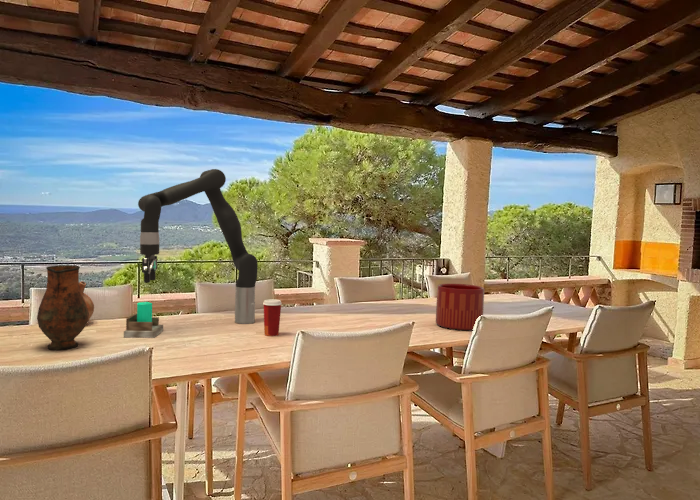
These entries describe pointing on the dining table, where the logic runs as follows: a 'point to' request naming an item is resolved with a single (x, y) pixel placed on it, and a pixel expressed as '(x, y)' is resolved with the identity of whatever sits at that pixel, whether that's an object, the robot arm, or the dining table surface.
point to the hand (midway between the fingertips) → (149, 281)
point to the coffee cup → (272, 317)
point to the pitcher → (62, 308)
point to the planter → (459, 305)
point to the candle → (144, 312)
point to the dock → (142, 328)
